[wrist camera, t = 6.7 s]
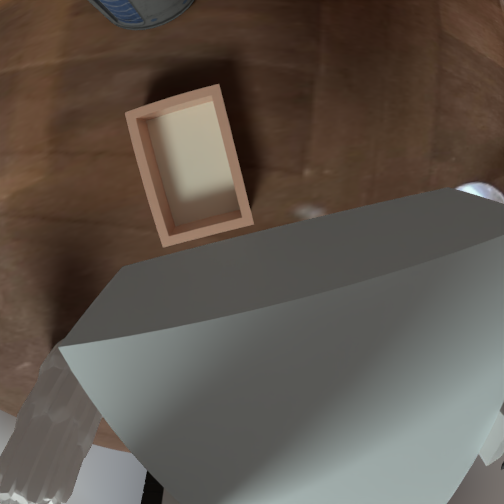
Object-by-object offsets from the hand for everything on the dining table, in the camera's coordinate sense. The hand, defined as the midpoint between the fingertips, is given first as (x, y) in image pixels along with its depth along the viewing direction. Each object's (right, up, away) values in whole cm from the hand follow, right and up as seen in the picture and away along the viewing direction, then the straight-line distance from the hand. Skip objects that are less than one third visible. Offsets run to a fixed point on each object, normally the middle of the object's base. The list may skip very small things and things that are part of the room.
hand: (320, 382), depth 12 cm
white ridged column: (-26, -11, +24) cm, 37 cm away
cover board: (0, -1, -2) cm, 2 cm away
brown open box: (-8, +14, +17) cm, 23 cm away
